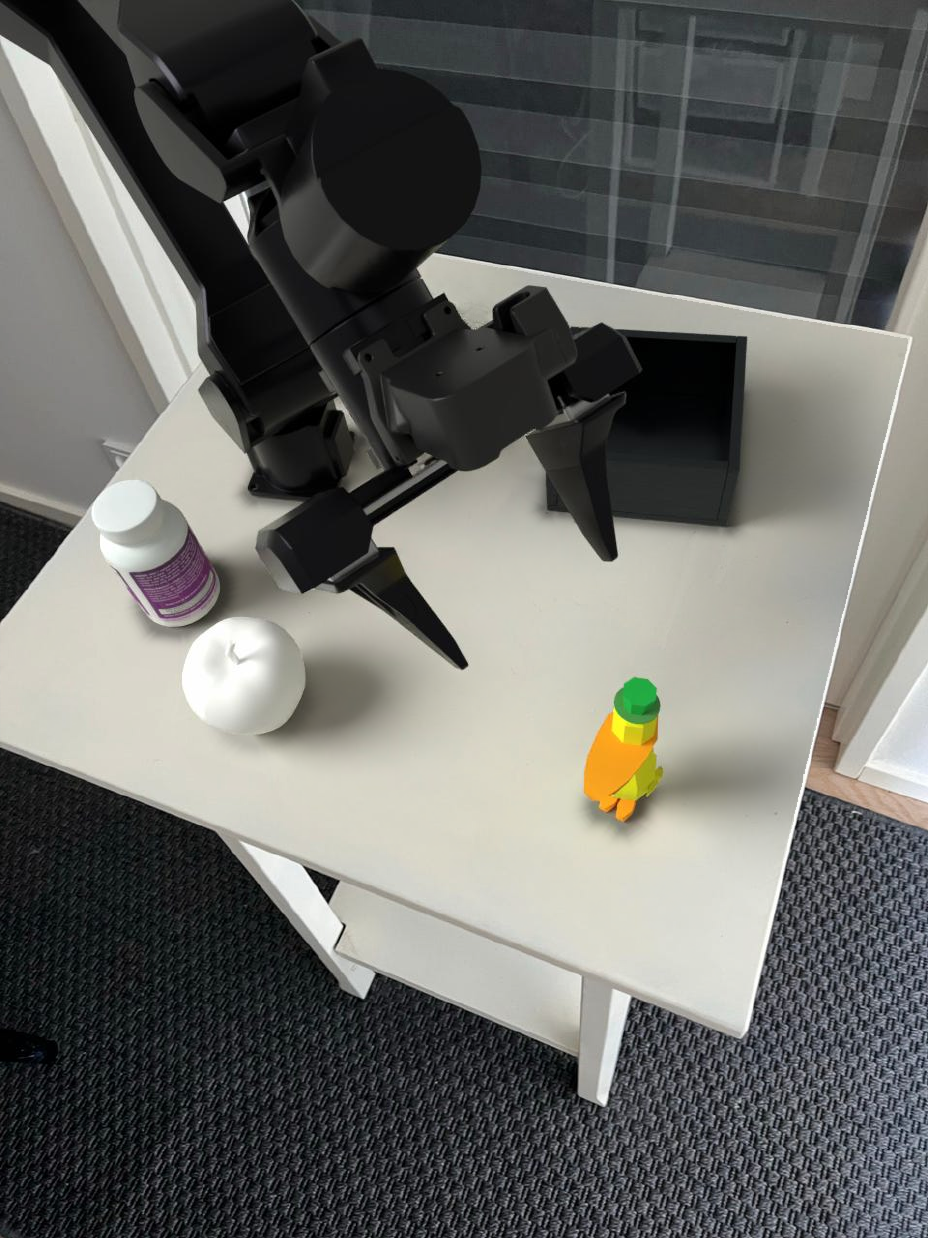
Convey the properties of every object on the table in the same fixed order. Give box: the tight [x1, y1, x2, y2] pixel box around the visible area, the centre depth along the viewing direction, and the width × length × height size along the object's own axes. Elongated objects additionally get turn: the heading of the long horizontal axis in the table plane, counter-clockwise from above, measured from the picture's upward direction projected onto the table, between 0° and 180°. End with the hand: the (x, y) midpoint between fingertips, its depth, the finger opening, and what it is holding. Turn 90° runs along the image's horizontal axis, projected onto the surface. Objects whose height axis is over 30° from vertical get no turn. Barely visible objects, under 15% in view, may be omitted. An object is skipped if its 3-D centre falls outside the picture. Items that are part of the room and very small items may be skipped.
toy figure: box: [583, 676, 664, 823], centre depth 47 cm, size 7×4×12 cm, turn 147°
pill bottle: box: [91, 478, 221, 628], centre depth 58 cm, size 5×5×10 cm
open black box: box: [545, 326, 748, 528], centre depth 63 cm, size 12×12×6 cm
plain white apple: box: [181, 616, 306, 736], centre depth 54 cm, size 7×7×8 cm
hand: (538, 612), depth 44 cm, fingers open, 9 cm apart
